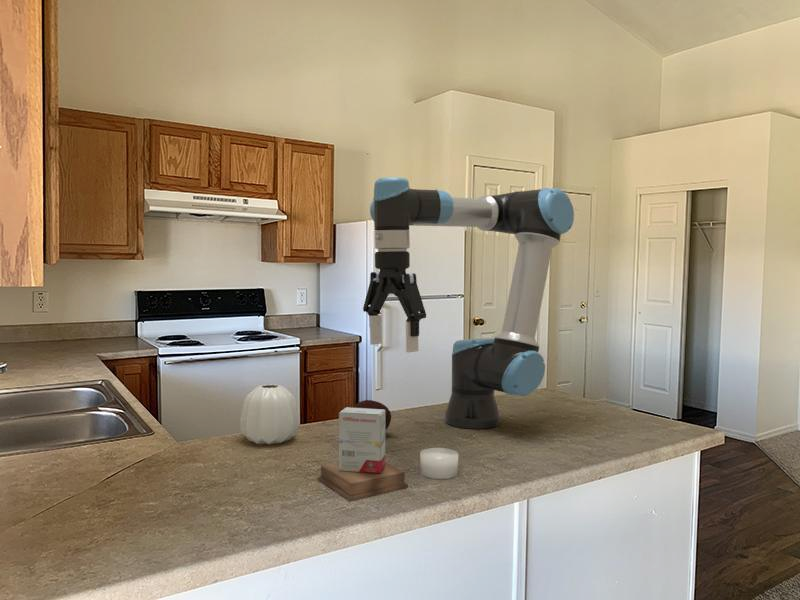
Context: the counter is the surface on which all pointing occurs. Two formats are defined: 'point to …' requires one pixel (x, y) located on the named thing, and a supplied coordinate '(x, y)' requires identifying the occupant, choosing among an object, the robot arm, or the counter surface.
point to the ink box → (362, 440)
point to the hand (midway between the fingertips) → (393, 347)
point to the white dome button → (439, 463)
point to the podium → (361, 481)
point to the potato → (375, 405)
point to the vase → (269, 415)
